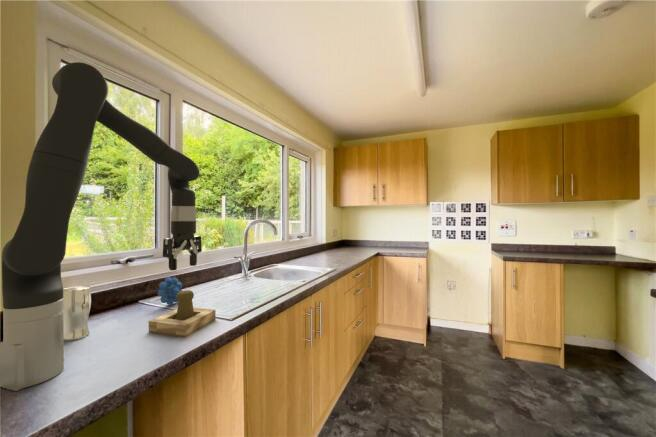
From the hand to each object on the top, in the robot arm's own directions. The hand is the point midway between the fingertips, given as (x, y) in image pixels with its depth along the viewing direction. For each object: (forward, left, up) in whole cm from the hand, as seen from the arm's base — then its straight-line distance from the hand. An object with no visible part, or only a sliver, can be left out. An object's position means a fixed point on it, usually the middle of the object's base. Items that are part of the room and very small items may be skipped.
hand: (183, 267), depth 88 cm
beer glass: (-15, +26, -20) cm, 36 cm away
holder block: (0, 0, -20) cm, 20 cm away
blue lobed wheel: (+16, +21, -20) cm, 33 cm away
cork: (+1, 0, -19) cm, 19 cm away
